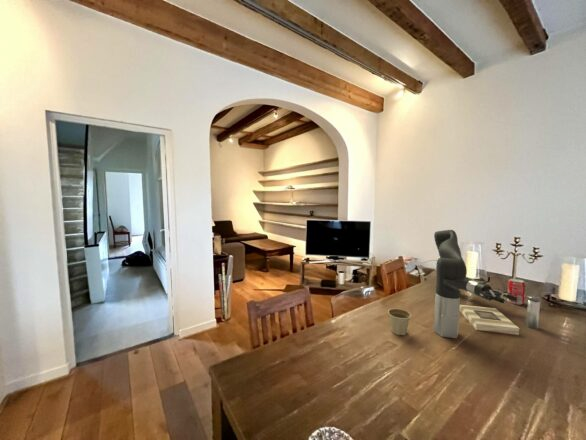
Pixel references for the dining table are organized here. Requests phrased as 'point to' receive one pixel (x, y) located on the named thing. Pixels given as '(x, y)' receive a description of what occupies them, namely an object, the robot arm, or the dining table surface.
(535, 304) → the slim silver can
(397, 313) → the flower pot
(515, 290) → the soda can
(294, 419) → the dining table surface
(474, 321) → the block
